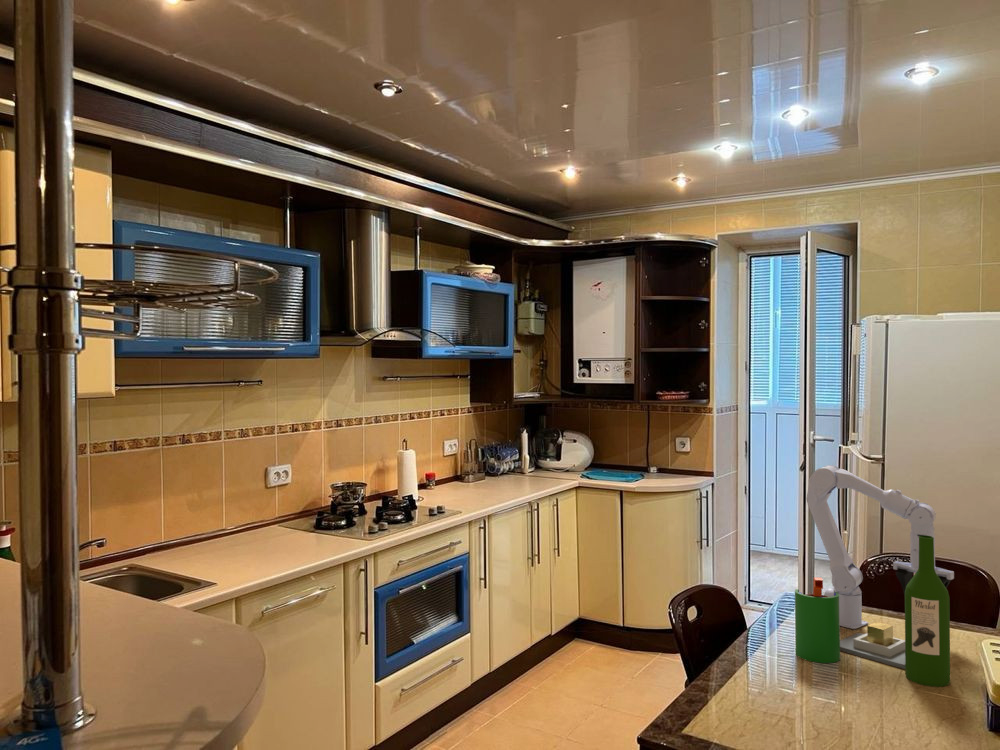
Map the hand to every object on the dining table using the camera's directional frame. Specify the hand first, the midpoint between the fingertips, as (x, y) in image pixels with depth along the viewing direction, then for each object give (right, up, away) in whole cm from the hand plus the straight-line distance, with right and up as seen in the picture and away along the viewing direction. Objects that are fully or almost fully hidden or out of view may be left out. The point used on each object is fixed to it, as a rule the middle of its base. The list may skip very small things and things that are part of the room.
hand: (923, 601), depth 201 cm
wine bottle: (-15, -10, -28) cm, 33 cm away
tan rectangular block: (-17, -9, -11) cm, 22 cm away
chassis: (-17, -10, -11) cm, 22 cm away
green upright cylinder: (-34, -10, -14) cm, 38 cm away
